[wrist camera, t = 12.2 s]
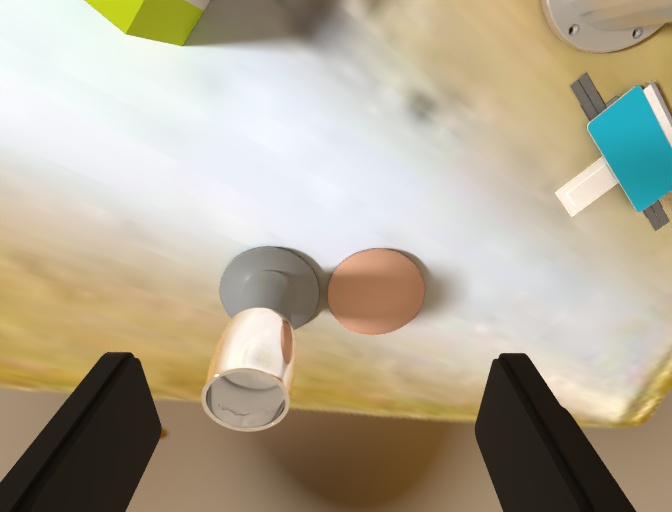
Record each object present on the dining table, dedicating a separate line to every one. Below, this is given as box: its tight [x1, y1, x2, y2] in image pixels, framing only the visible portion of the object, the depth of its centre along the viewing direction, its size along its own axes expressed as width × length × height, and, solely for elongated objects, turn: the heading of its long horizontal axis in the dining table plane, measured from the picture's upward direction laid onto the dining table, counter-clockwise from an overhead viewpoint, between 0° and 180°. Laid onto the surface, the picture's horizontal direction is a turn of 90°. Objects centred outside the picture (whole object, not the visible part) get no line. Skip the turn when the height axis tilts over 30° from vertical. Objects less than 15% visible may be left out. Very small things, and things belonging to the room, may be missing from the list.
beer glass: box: [201, 271, 298, 431], centre depth 34 cm, size 7×7×15 cm
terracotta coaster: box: [328, 248, 425, 335], centre depth 42 cm, size 11×11×1 cm
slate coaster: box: [219, 247, 319, 330], centre depth 41 cm, size 11×11×1 cm
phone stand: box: [555, 73, 672, 231], centre depth 36 cm, size 20×12×2 cm, turn 44°
